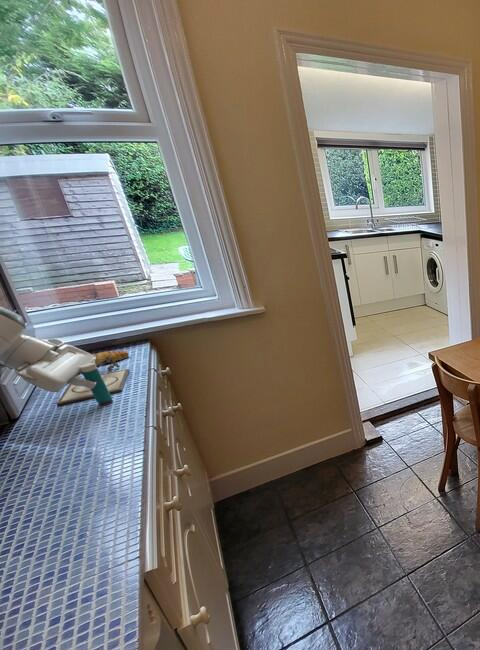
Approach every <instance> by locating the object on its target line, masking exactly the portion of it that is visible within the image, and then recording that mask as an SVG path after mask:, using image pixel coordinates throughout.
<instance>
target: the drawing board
mask: <svg viewBox="0 0 480 650" xmlns="http://www.w3.org/2000/svg"><path fill="white" fill-rule="evenodd" d="M129 373H130V368H125V369H121V370H115V371H111V372H105V373H102V374H101V373H100V374H101V375H103V376H104V378H103V381H104V383H105V385H106V387H107V389H108V391H109V393H110V395H113V394H119V393H121V392H123V390H124V387H125V384H126V382H127V379H128V376H129ZM81 379H85V378H84V377H81ZM92 399H95V397H94V395H93V393H92V391H91V389H90V388H87V387H83V386H75V385H72V384H68V385H67V387H66V389H65V390H64V391H63V393H62V395H61V396H60V398H59V400H58V401H57V403H56V406H57V407H61V406H65V405H69V404H73V403H79V402H82V401H88V400H92Z"/></svg>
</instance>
